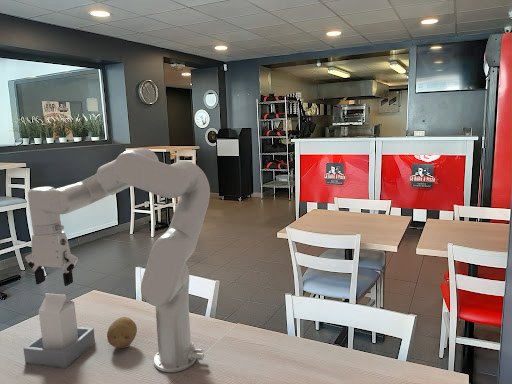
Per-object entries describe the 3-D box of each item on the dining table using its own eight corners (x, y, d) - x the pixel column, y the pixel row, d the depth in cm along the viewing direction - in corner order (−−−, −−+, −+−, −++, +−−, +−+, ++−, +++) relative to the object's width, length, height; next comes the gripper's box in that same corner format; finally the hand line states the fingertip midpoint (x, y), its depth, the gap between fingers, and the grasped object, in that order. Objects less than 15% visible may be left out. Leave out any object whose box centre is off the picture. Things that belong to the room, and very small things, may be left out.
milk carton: (64, 358, 120) (57, 300, 116) (44, 356, 121) (36, 298, 118) (79, 345, 127) (73, 290, 123) (59, 343, 128) (53, 288, 125)
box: (95, 342, 129) (93, 328, 128) (66, 368, 116) (64, 352, 115) (57, 338, 132) (55, 324, 131) (25, 363, 119) (23, 348, 118)
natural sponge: (131, 356, 121) (129, 326, 119) (103, 356, 121) (100, 326, 120) (141, 340, 130) (139, 312, 128) (115, 340, 130) (112, 312, 129)
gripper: (81, 225, 119) (87, 279, 122) (31, 225, 122) (39, 277, 125) (64, 232, 111) (71, 290, 114) (12, 231, 115) (20, 287, 118)
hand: (54, 283), depth 120 cm, fingers open, 9 cm apart
